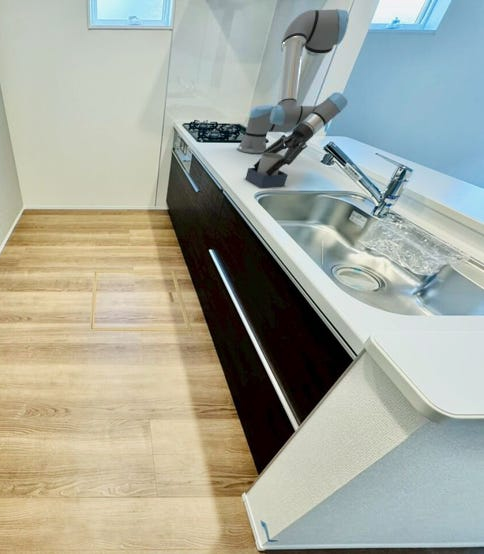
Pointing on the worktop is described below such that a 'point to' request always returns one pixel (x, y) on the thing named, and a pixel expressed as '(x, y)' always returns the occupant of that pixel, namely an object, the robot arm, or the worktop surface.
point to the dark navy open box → (266, 179)
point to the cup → (268, 163)
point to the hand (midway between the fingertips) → (261, 170)
